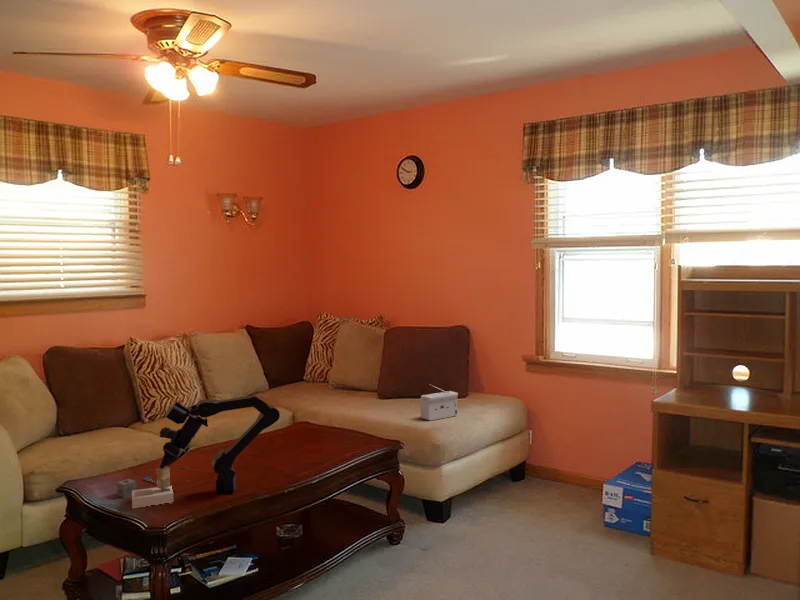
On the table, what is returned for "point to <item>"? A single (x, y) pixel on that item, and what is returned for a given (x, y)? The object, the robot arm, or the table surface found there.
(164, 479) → the maple peg
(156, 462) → the table surface
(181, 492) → the table surface
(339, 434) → the table surface
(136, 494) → the keyhole block
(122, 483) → the dice cube
